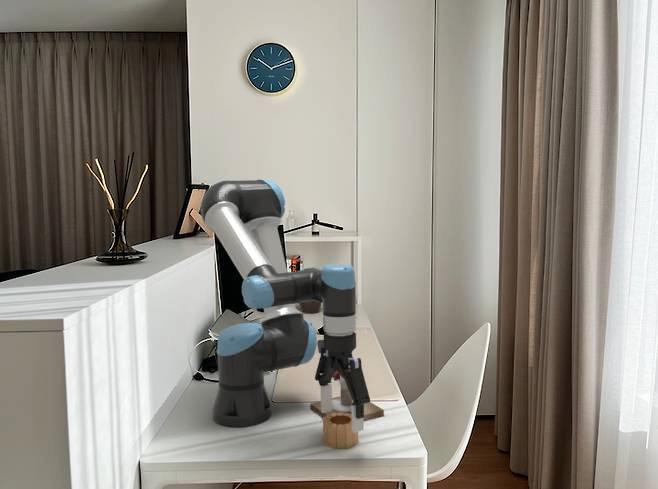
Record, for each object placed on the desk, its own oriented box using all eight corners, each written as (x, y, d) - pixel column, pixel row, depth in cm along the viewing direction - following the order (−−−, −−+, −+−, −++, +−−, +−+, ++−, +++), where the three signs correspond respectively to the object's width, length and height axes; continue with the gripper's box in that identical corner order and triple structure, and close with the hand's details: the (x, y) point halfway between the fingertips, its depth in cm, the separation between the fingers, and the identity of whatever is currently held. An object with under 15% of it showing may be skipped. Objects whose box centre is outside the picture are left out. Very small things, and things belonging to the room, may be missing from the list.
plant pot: (289, 314, 262) (288, 279, 260) (300, 307, 276) (299, 273, 274) (320, 316, 258) (320, 280, 256) (330, 309, 272) (330, 275, 270)
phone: (318, 352, 205) (317, 339, 220) (318, 354, 205) (317, 342, 220) (339, 351, 205) (336, 339, 220) (339, 354, 206) (336, 341, 220)
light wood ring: (334, 451, 133) (334, 430, 132) (316, 437, 140) (316, 417, 139) (364, 442, 137) (364, 422, 136) (345, 429, 144) (345, 410, 143)
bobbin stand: (338, 427, 145) (337, 377, 143) (310, 408, 157) (309, 361, 155) (383, 415, 152) (383, 366, 150) (354, 398, 164) (353, 353, 162)
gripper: (385, 341, 126) (386, 435, 128) (326, 319, 148) (328, 401, 150) (356, 346, 122) (357, 444, 125) (299, 323, 144) (302, 407, 146)
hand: (341, 420), depth 137 cm, fingers open, 13 cm apart
